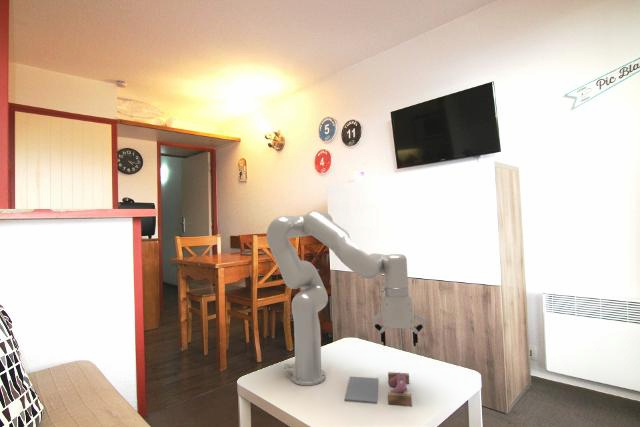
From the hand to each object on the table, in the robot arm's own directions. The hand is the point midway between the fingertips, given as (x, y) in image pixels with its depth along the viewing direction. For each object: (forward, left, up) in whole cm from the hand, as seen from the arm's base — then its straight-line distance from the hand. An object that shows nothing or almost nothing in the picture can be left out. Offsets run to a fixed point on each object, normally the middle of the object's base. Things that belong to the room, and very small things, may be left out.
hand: (399, 344), depth 112 cm
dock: (-1, 0, -16) cm, 16 cm away
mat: (-13, 0, -16) cm, 20 cm away
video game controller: (-1, 0, -16) cm, 16 cm away
